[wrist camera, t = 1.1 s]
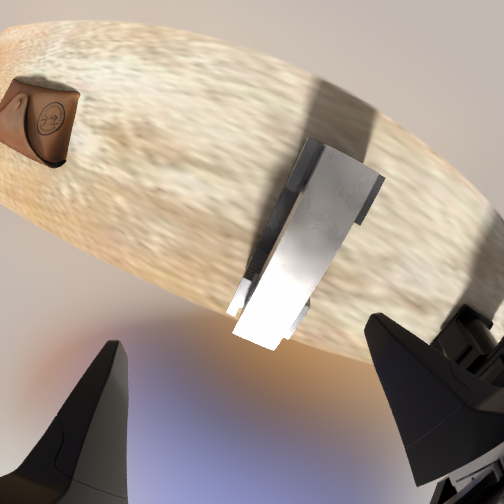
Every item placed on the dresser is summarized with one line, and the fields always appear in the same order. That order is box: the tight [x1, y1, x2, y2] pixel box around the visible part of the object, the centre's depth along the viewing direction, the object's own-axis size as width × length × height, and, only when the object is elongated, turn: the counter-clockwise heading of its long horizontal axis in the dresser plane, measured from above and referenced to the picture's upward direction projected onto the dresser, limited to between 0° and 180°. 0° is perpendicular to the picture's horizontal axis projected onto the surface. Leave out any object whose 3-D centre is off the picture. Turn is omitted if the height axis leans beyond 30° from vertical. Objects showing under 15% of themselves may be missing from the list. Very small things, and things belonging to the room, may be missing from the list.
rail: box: [234, 144, 379, 350], centre depth 15 cm, size 3×12×3 cm, turn 157°
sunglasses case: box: [0, 79, 80, 168], centre depth 20 cm, size 18×7×7 cm, turn 67°
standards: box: [227, 137, 385, 339], centre depth 18 cm, size 5×12×6 cm, turn 157°
